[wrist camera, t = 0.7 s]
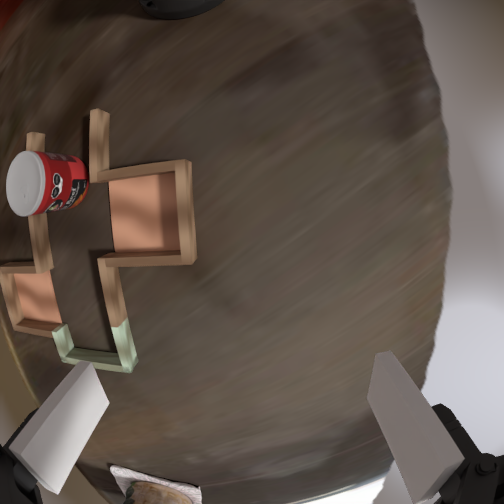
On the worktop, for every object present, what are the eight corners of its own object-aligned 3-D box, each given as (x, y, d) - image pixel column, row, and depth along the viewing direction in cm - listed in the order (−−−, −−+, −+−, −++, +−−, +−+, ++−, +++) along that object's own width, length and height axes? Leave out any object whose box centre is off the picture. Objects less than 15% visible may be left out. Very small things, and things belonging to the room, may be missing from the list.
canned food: (65, 217, 35) (17, 228, 25) (47, 175, 34) (-1, 175, 23) (98, 190, 34) (50, 193, 24) (79, 145, 33) (31, 137, 22)
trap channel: (1, 152, 33) (-11, 152, 29) (190, 98, 32) (183, 90, 28) (31, 344, 41) (22, 351, 37) (210, 364, 40) (206, 378, 37)
